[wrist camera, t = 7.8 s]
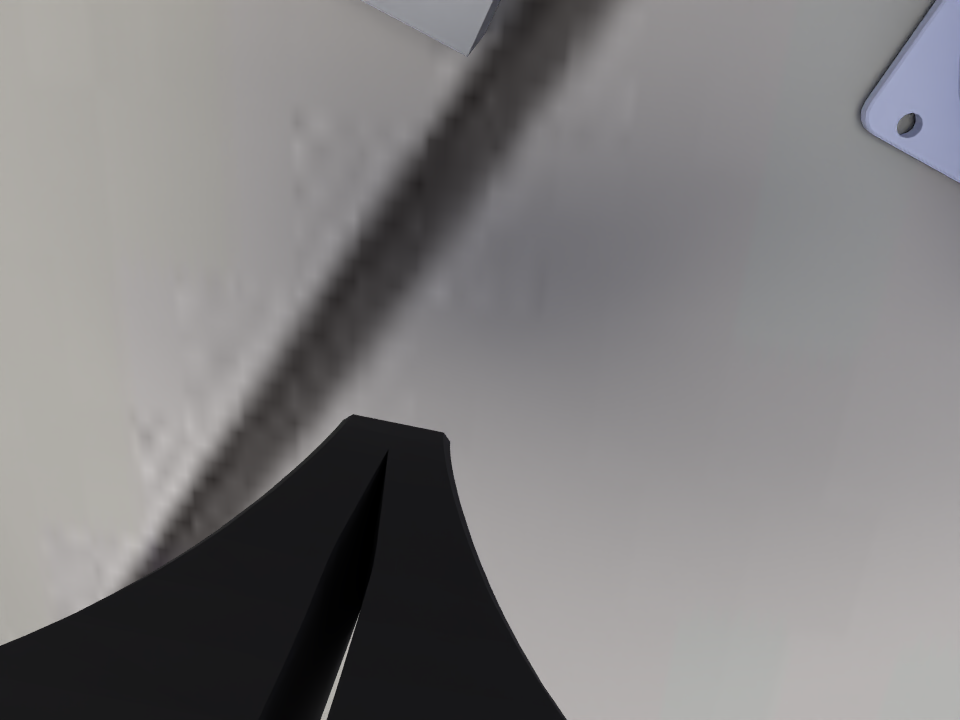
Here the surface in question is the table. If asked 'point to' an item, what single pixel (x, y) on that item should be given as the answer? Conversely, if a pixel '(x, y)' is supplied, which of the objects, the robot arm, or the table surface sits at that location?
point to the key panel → (443, 19)
